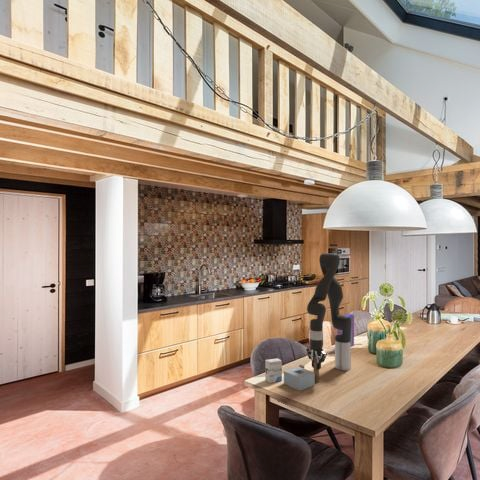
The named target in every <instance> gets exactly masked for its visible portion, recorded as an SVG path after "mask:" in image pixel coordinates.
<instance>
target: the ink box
mask: <svg viewBox="0 0 480 480" xmlns="http://www.w3.org/2000/svg"><path fill="white" fill-rule="evenodd" d="M264 363H265V365H264V366H265V373H264V375H265V378H264V379H265V381H266V382H267V383H269V384H270V383H277V382H282V381H283V380H282V378H283V375H282V374H283V372H282V371H283V361H282V360H281V359H280V358H277V357H276V358H270V359H265V361H264Z"/></svg>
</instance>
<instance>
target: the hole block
mask: <svg viewBox="0 0 480 480" xmlns="http://www.w3.org/2000/svg"><path fill="white" fill-rule="evenodd" d="M315 383H316V382H315V373H314V371H311V370H309V369H305V367H304V368H301V367H299V366H296V367H293V368H290V369H286V370H283V384H284V385H285V386H288V387H291V388H292V389H295V390H297V391H299V392H300V391H303V390H305V389H306V390H307V389H308V388H312V387H314V386H315V385H316V384H315Z"/></svg>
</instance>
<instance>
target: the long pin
mask: <svg viewBox="0 0 480 480" xmlns="http://www.w3.org/2000/svg"><path fill="white" fill-rule="evenodd" d="M313 372H314V373H315V383H316V384H317V383H318V384H319V382H320V369H319V370H318V369H317V359H316V356H314V368H313Z"/></svg>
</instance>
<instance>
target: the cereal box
mask: <svg viewBox="0 0 480 480" xmlns="http://www.w3.org/2000/svg"><path fill="white" fill-rule="evenodd" d="M343 315H344V316H349V317H350V318H351V323H352V325H351V338H350V348H352V347H354V346H355V314H353V313H347V314H343ZM336 330H337V331H336V332H337V335H339V334H342V330H339V329H336Z"/></svg>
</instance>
